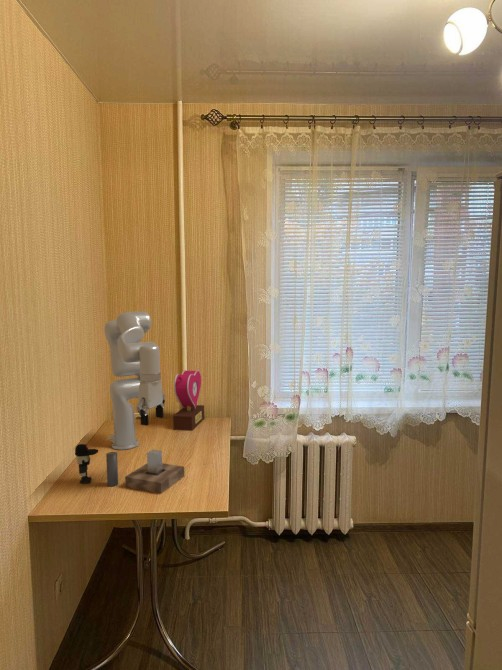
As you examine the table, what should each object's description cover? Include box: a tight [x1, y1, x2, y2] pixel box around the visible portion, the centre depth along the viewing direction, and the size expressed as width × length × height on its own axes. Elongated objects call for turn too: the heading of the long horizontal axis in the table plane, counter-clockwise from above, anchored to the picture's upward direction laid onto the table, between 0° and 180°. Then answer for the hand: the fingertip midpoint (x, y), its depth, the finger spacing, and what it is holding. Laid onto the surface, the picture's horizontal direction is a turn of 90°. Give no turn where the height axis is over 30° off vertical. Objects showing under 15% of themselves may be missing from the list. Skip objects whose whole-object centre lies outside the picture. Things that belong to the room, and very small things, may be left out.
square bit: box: [146, 448, 163, 476], centre depth 180 cm, size 4×4×12 cm
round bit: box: [105, 451, 119, 487], centre depth 179 cm, size 4×4×12 cm
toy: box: [74, 443, 99, 484], centre depth 181 cm, size 8×8×15 cm
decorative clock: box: [172, 369, 206, 432], centre depth 250 cm, size 25×10×30 cm, turn 168°
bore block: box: [124, 462, 185, 495], centre depth 181 cm, size 16×16×4 cm
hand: (152, 421), depth 180 cm, fingers open, 9 cm apart
